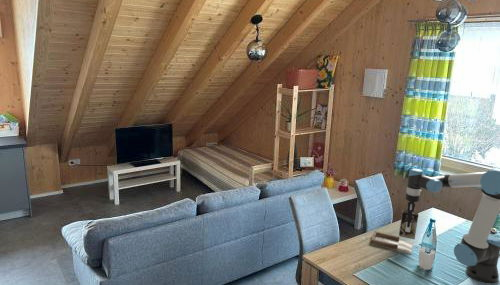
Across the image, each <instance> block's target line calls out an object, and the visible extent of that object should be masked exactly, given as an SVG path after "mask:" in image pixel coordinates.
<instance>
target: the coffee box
mask: <svg viewBox="0 0 500 285" xmlns="http://www.w3.org/2000/svg"><path fill="white" fill-rule="evenodd" d="M407 216H408V209H404V208H402V212H401V218H400V224H399V232H398V236H399V238H406V239H409V240H416V234H417V227H418V221H419V211H415V210H414V211H413V213H412V220H411V228H410V232H406V231H405V229H406V222H405V221H407Z"/></svg>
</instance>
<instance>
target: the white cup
mask: <svg viewBox="0 0 500 285" xmlns="http://www.w3.org/2000/svg"><path fill="white" fill-rule="evenodd" d="M425 247H426V246H423V247H420V248H419V253H418V254H419V255H418V266H420V267H419V268H421V269H422V268H423V269H422V270H429V271H430V270H432V269H431V268H433V265H434V260H435V255H436V251H435V249H432V248H431V249H432V250H431V253H430V254H427V253H424V252H425Z"/></svg>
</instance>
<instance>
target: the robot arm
mask: <svg viewBox="0 0 500 285" xmlns="http://www.w3.org/2000/svg"><path fill="white" fill-rule="evenodd" d="M407 179H408V180H407V186H406V194H405V200H406V201H408V202H407V210H408V216H407V221H405V222H406V229H405V231H406V232H410V228H411V220H412V213H413V211H415V207H416V203H418V202H420V196H421V192H422V189H424V190H426V191H429V192H430V193H431V192H432V193H439V192H440V191H441V190H442V189H447V188H448V189H450V188H451V189H452V188H472V187H473V188H474V187H475V188H476V187H477V188H478V187H479V188H480V187H481V189H480V192H481V193H482V196H481V199H480V200H479V204H478V207H477V210H476V212H475V215H474V217H473V220H472V222H471V225H470V227H469V230H468V233H465V234H463V236H462V238H461V241H460V242H459V243H457V244H456V245H455V246H454V248H453V254H454V257H455V258H456V260H457V261H458V262H459V263H460V264H462V265H464V266H466V268H465V272H466V274H467V275H468V276H469V277H470V278H473V279H474V280H477V281H479V282H482V283H487V284H495V283H498V282H499V277H500V275H499V274H500V273H499V270H498V262H499V257H500V238H498V237H496V236H494V235H491V232H492V228H493V226H494V225H495V222H496V220H497V217H498V214H499V212H500V167H499V168H497V167H496V168H491V169H489V170H487V171H481V172H469V173H467V172H466V173H454V174H453V173H452V174H448V173H447V174H441V175H436V176H428V175H425V174H424V170H422V169H419V168H415V167H414V168H410V169H409V171H408V177H407Z"/></svg>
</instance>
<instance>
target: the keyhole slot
mask: <svg viewBox="0 0 500 285" xmlns="http://www.w3.org/2000/svg"><path fill="white" fill-rule="evenodd" d="M370 245H373V246H377V247H381V248H386V249H389V250H394V251H396V252H399V253H403V252H405V253H404V254H407V253H409V254H408V255H412V250H413V242H412V241H407V240H402V239H400V236H399V235H394V234H389V233H384V232H381V231H376V230H375V231H374V232H373V234H372V236H371V239H370Z"/></svg>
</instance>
